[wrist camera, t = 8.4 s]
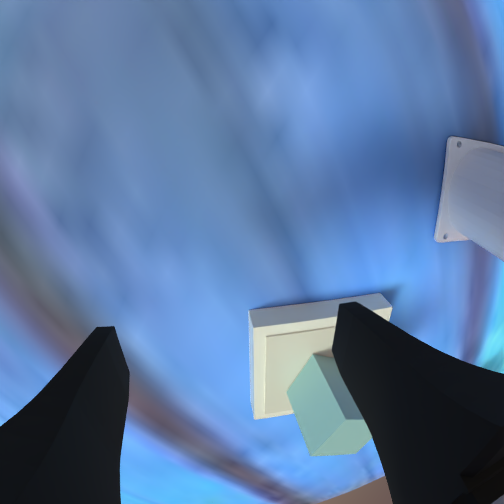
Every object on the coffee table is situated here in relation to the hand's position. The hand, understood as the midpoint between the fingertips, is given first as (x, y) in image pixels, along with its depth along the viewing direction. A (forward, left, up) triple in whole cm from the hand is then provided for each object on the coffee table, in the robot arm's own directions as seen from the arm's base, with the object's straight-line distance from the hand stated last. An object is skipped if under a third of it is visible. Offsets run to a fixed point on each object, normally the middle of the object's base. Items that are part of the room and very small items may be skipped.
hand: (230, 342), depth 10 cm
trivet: (-7, +11, -10) cm, 17 cm away
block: (-7, +12, -8) cm, 16 cm away
